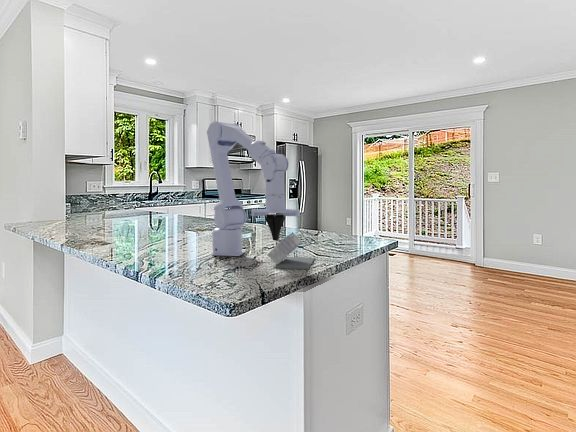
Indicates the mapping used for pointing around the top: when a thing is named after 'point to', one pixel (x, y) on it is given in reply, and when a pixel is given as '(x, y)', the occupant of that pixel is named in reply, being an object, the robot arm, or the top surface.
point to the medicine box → (284, 248)
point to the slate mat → (296, 263)
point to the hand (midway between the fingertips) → (275, 240)
